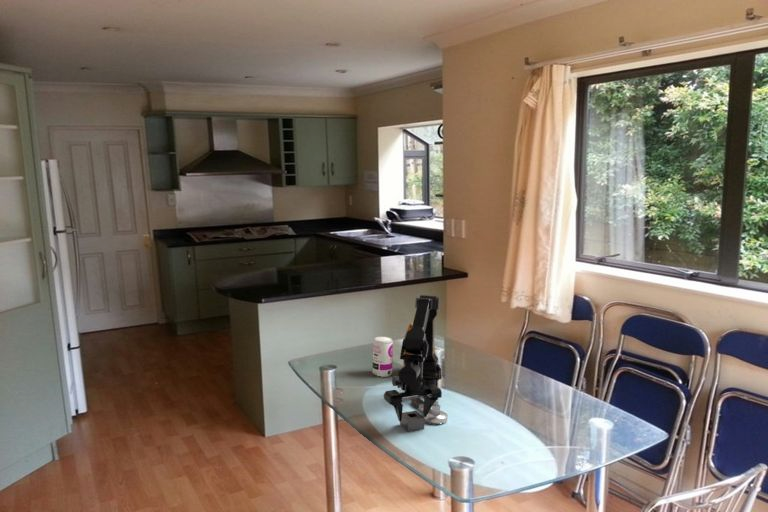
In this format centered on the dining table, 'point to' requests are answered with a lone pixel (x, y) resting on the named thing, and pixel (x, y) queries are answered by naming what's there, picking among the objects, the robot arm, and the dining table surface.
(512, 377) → the dining table surface
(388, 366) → the supplement can
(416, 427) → the socket
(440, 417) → the ratchet
